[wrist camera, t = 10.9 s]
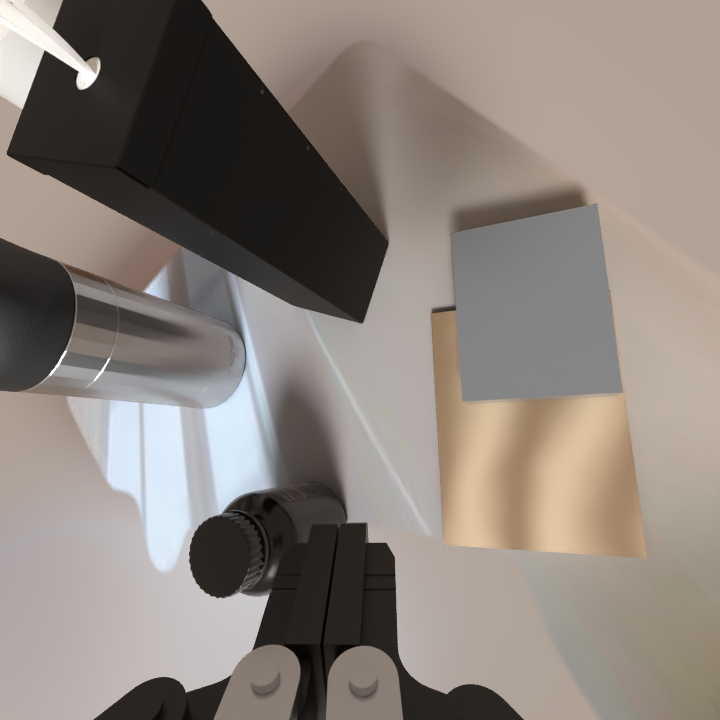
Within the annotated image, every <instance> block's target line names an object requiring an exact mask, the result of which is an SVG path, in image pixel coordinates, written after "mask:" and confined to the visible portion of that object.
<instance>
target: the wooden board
mask: <svg viewBox="0 0 720 720" xmlns="http://www.w3.org/2000/svg"><path fill="white" fill-rule="evenodd" d="M609 294H610V290H609ZM610 301H611V294H610ZM611 308H612V301H611ZM612 315H613V308H612ZM431 322H432V339H433V357H434V375H435V393H436V411H437V428H438V446H439V464H440V482H441V500H442V518H443V535H444V545H457V546H473V547H487V548H502V549H517V550H532V551H547V552H562V553H577V554H592V555H607V556H622V557H637V558H647V553H646V546H645V539H644V532H643V524H642V517H641V510H640V503H639V495H638V488H637V481H636V474H635V467H634V459H633V452H632V445H631V438H630V431H629V423H628V416H627V409H626V402H625V394H624V387H623V380H622V373H621V366H620V358H619V351H618V344H617V337H616V330H615V322H614V315H613V323H614V330H615V337H616V344H617V352H618V359H619V366H620V373H621V381H622V388H623V393H621V394H619V395H618V396H609V397H591V398H572V399H553V400H535V401H516V402H498V403H479V404H467V403H464V402H462V390H461V376H460V361H459V346H458V331H457V316H456V310H454V311H447V312H440V313H432V314H431Z"/></svg>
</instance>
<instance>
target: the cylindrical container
mask: <svg viewBox="0 0 720 720" xmlns="http://www.w3.org/2000/svg"><path fill="white" fill-rule="evenodd" d="M3 1H4V0H0V4H1V3H2V2H3ZM9 1H11V2H12V3H15V2H16V1H17V0H9ZM21 1H22V2H23V3H24V4H25V5H26V6H28V7H29V8H30V9H31V10H32V11H34V12H35V13H36V14H37V15H38V16H39V17H40V18H42V19H43V20H44V21H45V22H46V23H47V24H48V25H49V26H50V27H51V28H53V26H54V23H55V20H56V17H57V15H58V12H59V9H60V7H61V4H62V1H63V0H21ZM43 53H44V49H42V48H41V47H39V46H38V45H36V44H34V43H33V42H31V41H29V40H28V39H26V38H24V37H23V36H21V35H20V34H18V33H16V32H15V31H13V30H11V29H10V28H8V27H6V26H4V25H3V24H1V23H0V95H1V96H2V97H4V98H5V99H7V100H8V101H10V102H12V103H13V104H15V105H16V106H18V107H20V108H21V109H23V107H24V104H25V102H26V99H27V96H28V93H29V91H30V88H31V85H32V83H33V80H34V77H35V74H36V72H37V69H38V66H39V64H40V61H41V58H42V55H43Z"/></svg>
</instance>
